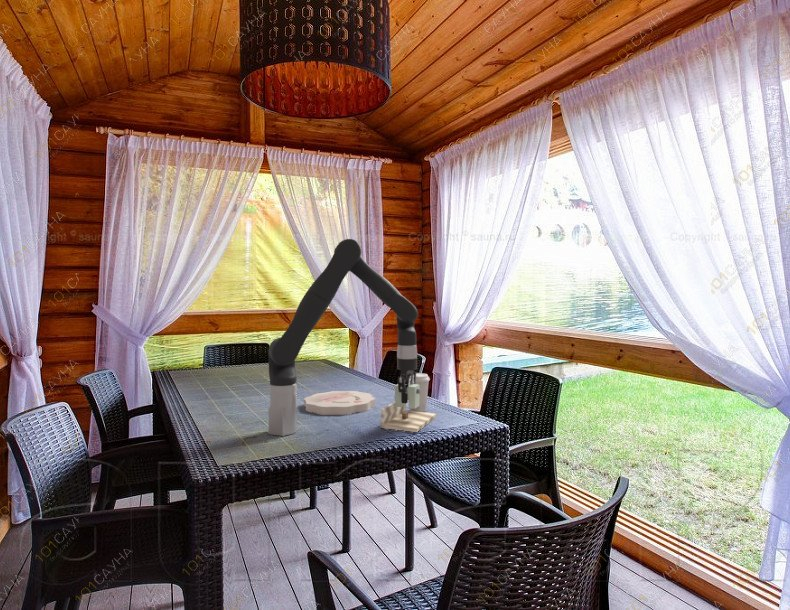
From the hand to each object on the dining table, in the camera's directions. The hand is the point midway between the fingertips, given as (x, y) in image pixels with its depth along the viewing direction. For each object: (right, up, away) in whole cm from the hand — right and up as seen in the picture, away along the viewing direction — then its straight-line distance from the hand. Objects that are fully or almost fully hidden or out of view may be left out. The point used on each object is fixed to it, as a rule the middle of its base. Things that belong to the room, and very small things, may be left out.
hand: (407, 401), depth 186 cm
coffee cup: (+5, -8, +18) cm, 20 cm away
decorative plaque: (-28, -8, +26) cm, 39 cm away
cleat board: (+1, -8, 0) cm, 8 cm away
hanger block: (0, -2, 0) cm, 2 cm away
